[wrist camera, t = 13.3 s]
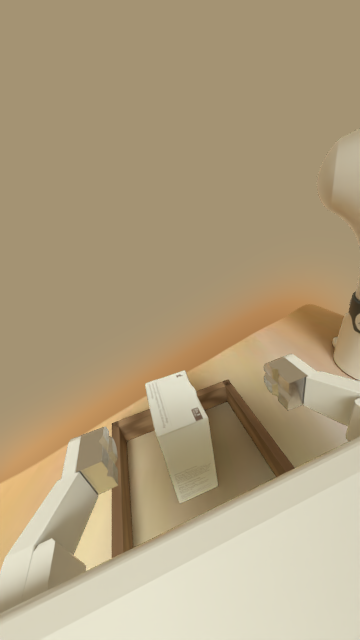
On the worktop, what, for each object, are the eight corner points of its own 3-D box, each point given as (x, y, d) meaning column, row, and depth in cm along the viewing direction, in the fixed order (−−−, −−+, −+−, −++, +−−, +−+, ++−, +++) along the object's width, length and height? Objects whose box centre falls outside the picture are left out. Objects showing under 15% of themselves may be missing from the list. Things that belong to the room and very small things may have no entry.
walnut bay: (229, 394, 42) (228, 379, 40) (370, 597, 19) (381, 583, 17) (119, 437, 38) (112, 423, 36) (130, 755, 15) (111, 759, 13)
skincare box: (165, 449, 35) (141, 381, 28) (200, 434, 36) (184, 366, 29) (180, 509, 27) (152, 437, 21) (223, 489, 28) (208, 414, 22)
